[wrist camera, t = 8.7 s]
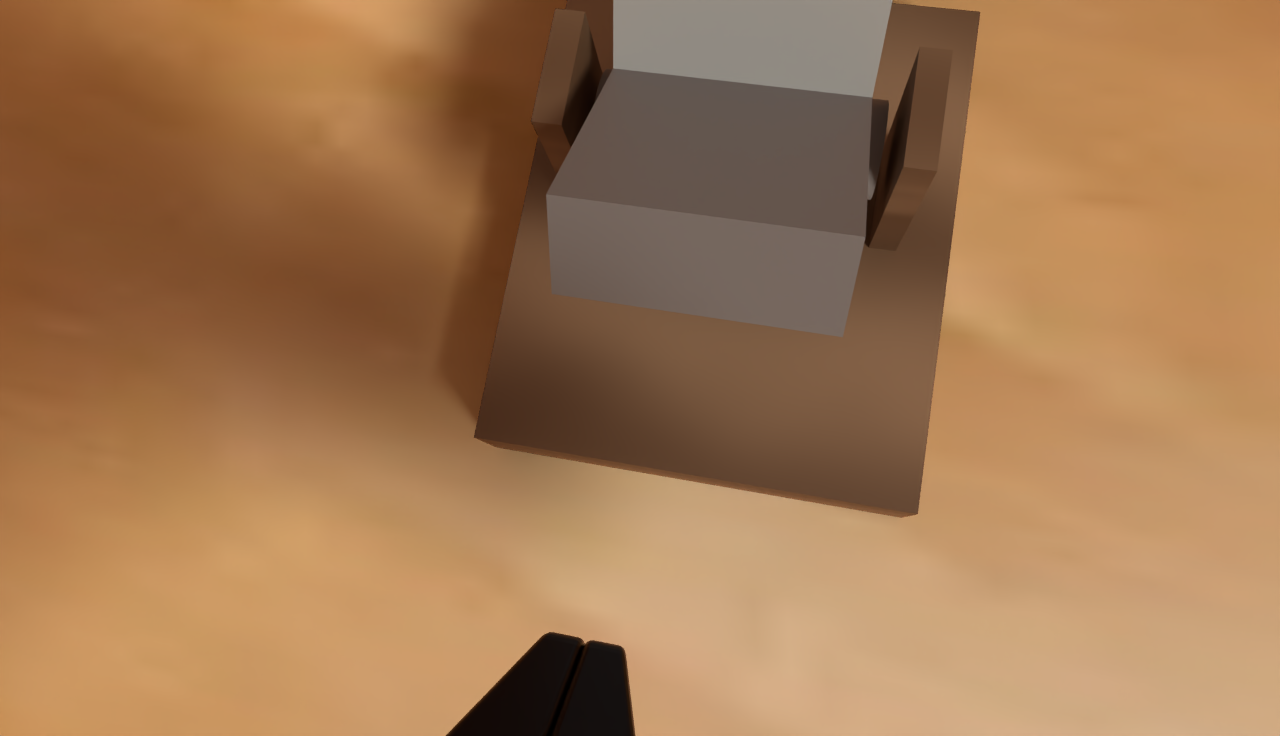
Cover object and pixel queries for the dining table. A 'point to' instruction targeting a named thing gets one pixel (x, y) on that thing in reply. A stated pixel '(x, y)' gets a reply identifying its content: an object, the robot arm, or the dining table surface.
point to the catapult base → (736, 351)
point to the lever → (726, 162)
